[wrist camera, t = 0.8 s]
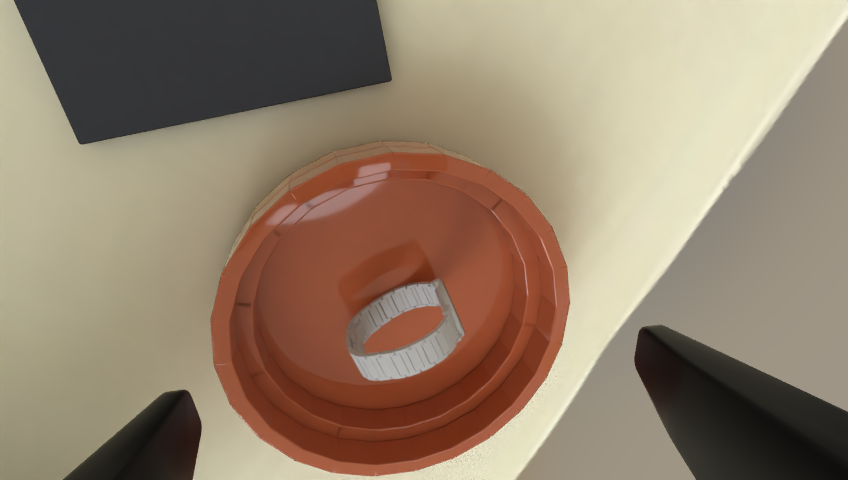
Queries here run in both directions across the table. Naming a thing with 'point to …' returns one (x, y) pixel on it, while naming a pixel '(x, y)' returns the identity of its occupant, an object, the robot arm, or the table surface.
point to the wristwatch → (416, 355)
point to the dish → (371, 278)
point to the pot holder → (198, 57)
